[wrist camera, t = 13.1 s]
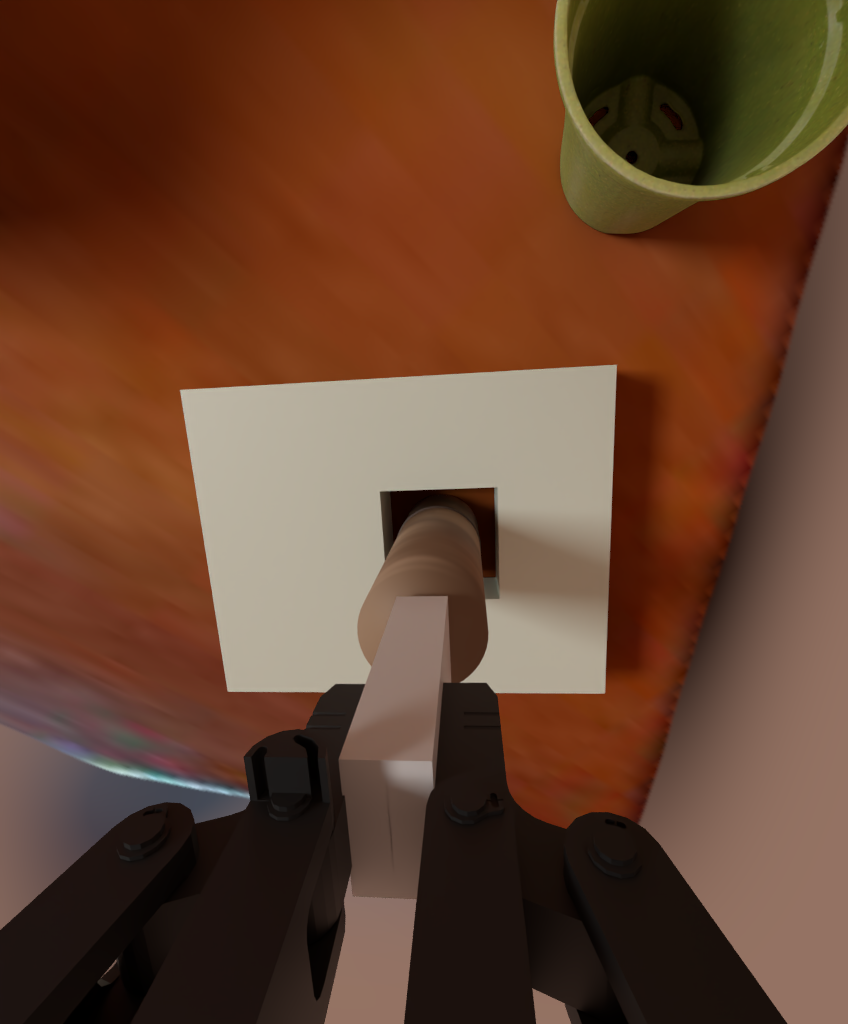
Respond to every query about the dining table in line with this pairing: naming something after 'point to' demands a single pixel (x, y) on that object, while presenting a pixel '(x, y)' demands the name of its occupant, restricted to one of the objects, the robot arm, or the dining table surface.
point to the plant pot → (693, 100)
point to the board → (368, 517)
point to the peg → (434, 580)
